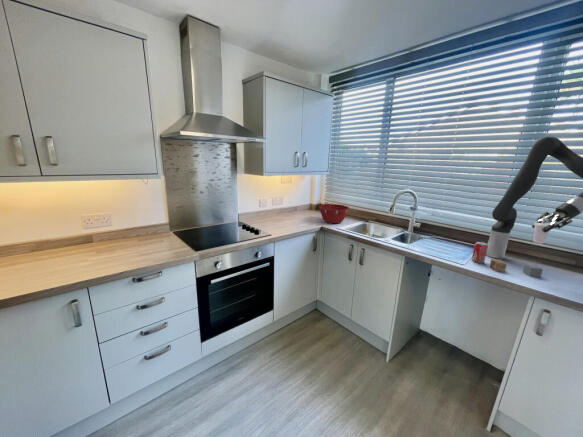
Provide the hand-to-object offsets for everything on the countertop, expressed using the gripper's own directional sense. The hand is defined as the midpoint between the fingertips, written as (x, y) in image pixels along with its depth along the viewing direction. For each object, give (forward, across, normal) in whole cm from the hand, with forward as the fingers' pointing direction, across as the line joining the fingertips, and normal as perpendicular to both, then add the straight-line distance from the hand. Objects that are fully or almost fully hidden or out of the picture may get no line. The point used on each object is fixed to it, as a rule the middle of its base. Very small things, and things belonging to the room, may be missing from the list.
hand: (538, 229), depth 123 cm
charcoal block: (+15, -4, +23) cm, 28 cm away
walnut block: (+26, -7, +12) cm, 29 cm away
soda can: (+29, -17, +9) cm, 35 cm away
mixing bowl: (+93, -90, -56) cm, 141 cm away
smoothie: (+4, 0, +6) cm, 7 cm away
